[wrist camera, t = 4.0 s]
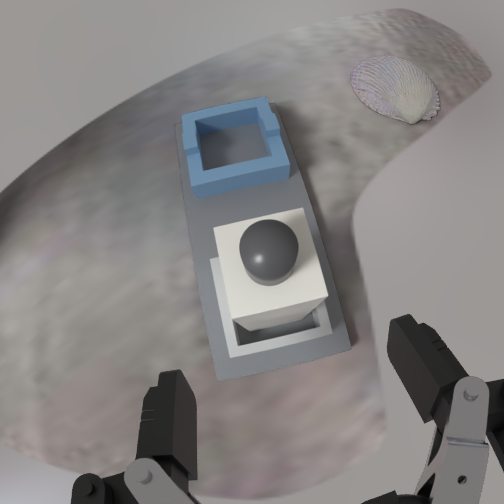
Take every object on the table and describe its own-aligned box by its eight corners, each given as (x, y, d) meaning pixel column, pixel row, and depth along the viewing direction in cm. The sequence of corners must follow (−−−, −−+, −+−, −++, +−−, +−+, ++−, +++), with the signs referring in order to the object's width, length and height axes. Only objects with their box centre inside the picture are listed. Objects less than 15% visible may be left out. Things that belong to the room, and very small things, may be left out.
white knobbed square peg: (301, 319, 20) (337, 287, 9) (250, 331, 20) (225, 314, 9) (288, 270, 21) (307, 186, 10) (239, 282, 21) (204, 210, 10)
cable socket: (348, 349, 20) (363, 349, 17) (219, 380, 20) (209, 386, 17) (274, 108, 26) (274, 80, 23) (176, 130, 26) (166, 103, 23)
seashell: (368, 106, 23) (349, 25, 23) (354, 133, 28) (341, 56, 29) (466, 119, 22) (439, 40, 23) (442, 140, 27) (422, 67, 28)
